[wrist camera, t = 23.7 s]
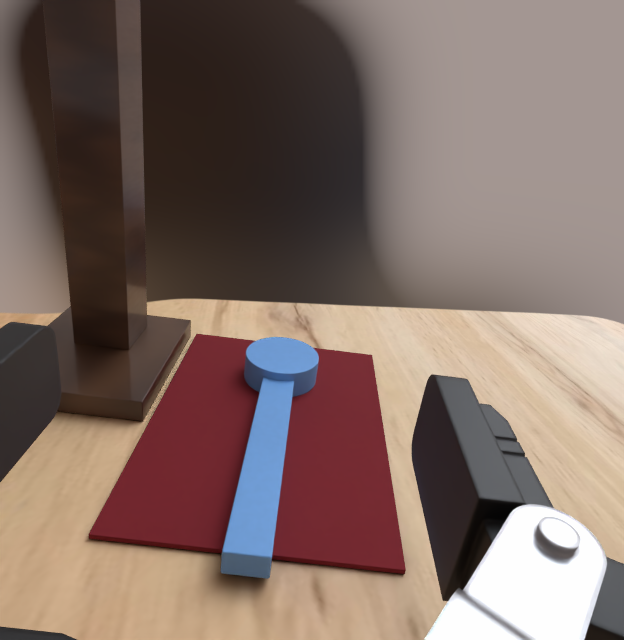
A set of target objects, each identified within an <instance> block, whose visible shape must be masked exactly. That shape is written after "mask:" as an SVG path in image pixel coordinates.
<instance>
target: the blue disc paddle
mask: <svg viewBox="0 0 624 640" xmlns="http://www.w3.org/2000/svg"><path fill="white" fill-rule="evenodd" d="M318 362H319V356H318V353H317V352H316V351H315V349H313V348H312V347H311V346H309V345H308V344H306V343H304V342H301V341H298V340H295V339H291V338H283V337H270V338H264V339H260V340H257V341H255V342H253V343H251V344H250V345H249V346H248V348H247V350H246V357H245V370H244V378H245V380H246V382H247V384H248V385H249V386H250V387H251V388H253V389H254V390H256V391H258V392H259V397H258V401H257V405H256V409H255V414H254V418H253V422H252V426H251V431H250V435H249V439H248V443H247V448H246V452H245V456H244V460H243V464H242V469H241V473H240V477H239V481H238V486H237V490H236V494H235V498H234V503H233V507H232V511H231V515H230V520H229V524H228V528H227V532H226V536H225V541H224V545H223V549H222V558H221V573H223V574H232V575H241V576H249V577H258V578H267V579H268V578H269V577H270V570H271V562H272V554H273V546H274V538H275V530H276V522H277V514H278V507H279V499H280V491H281V483H282V475H283V467H284V459H285V451H286V443H287V435H288V428H289V420H290V412H291V404H292V397H295V396H299V395H302V394H305V393H307V392H308V391H310V390H311V389H312V388H313V387H314V385H315V382H316V376H317V369H318Z"/></svg>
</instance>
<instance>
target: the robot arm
mask: <svg viewBox="0 0 624 640" xmlns="http://www.w3.org/2000/svg"><path fill="white" fill-rule="evenodd" d="M60 400H61V381H60V372H59V363H58V353H57V344H56V336H55V333H54V331H53V329H52V328H51V327H48V326H41V325H33V324H25V323H17V322H10V323H8V324H6V325H5V326H3V327H2V328H1V329H0V482H1V481H2V480H3V478H4V477H5V476H6V475H7V474H8V472H9V471H10V470H11V469H12V468H13V466H14V465H15V464H16V463H17V462H18V460H19V459H20V458H21V457H22V456H23V454H24V453H25V452H26V451H27V449H28V448H29V447H30V446H31V445H32V443H33V442H34V441H35V440H36V439H37V437H38V436H39V435H40V434H41V433H42V431H43V430H44V429H45V428H46V427H47V425H48V424H49V423H50V422H51V420H52V419H53V418H54V416H55V415H56V413H57V410H58V408H59V404H60ZM412 462H413V467H414V472H415V476H416V481H417V485H418V490H419V494H420V499H421V503H422V508H423V512H424V517H425V522H426V526H427V531H428V535H429V540H430V544H431V549H432V553H433V558H434V562H435V567H436V572H437V576H438V581H439V585H440V590H441V594H442V599H443V601H448V603H447V604H446V606H445V607H444V609H443V611H442V612H441V614H440V615H439V617H438V619H437V620H436V622H435V623H434V625H433V626H432V628H431V630H430V631H429V633H428V634H427V636H426V638H425V639H424V640H624V564H623V563H620V562H617V561H615V560H612V559H610V558H608V557H606V555H605V552H604V549H603V548H602V546H601V544H600V542H599V541H598V540H597V538H596V537H595V536H594V535H593V534H592V533H591V532H590V531H589V530H588V529H587V528H586V527H585V526H584V525H583V524H581V523H580V522H578V521H577V520H576V519H574V518H572V517H571V516H569V515H567V514H565V513H563V512H561V511H559V510H556V509H554V508H553V506H552V504H551V502H550V500H549V498H548V496H547V494H546V493H545V491H544V489H543V487H542V485H541V483H540V481H539V479H538V477H537V476H536V474H535V472H534V470H533V468H532V466H531V464H530V462H529V460H528V459H527V457H525V453H524V451H523V449H522V447H521V445H520V443H519V442H517V438H516V436H515V434H514V432H513V430H512V428H511V426H510V425H509V423H508V421H507V420H506V419H505V418H504V417H503V416H502V415H500V414H499V413H498V412H497V411H496V410H495V409H494V408H493V407H492V406H491V405H487V404H479V402H478V400H477V398H476V396H475V393H474V391H473V389H472V387H471V385H470V383H469V381H468V380H467V379H464V378H456V377H448V376H440V375H431V376H430V377H429V379H428V381H427V384H426V387H425V391H424V395H423V399H422V403H421V406H420V410H419V414H418V418H417V422H416V426H415V429H414V434H413V440H412ZM0 640H76V639H74V638H72V637H69V636H67V635H65V634H62V633H53V632H44V631H35V630H26V629H17V628H7V627H0Z"/></svg>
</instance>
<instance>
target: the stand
mask: <svg viewBox="0 0 624 640" xmlns="http://www.w3.org/2000/svg"><path fill="white" fill-rule="evenodd" d="M43 9H44V19H45V31H46V41H47V53H48V63H49V74H50V85H51V96H52V106H53V117H54V129H55V139H56V150H57V161H58V172H59V182H60V193H61V204H62V216H63V227H64V237H65V248H66V259H67V270H68V281H69V291H70V302H71V306H70V307H69V308H68V309H67V310H66V311H65V312H63V313H62V314H61V315H60V316H59V317H57V318H56V319H55V320H54V321H53V322H52V323H50V324H49V325H48V327H51V328H52V329H53V331H54V333H55V336H56V344H57V353H58V363H59V372H60V381H61V400H60V404H59V408H58V410H57V411H61V412H70V413H78V414H87V415H95V416H104V417H112V418H121V419H129V420H138V421H143V420H144V418H145V416H146V414H147V413H148V411H149V409H150V407H151V405H152V404H153V402H154V400H155V398H156V396H157V395H158V393H159V391H160V389H161V388H162V386H163V384H164V382H165V380H166V379H167V377H168V375H169V373H170V371H171V370H172V368H173V366H174V364H175V363H176V361H177V359H178V357H179V355H180V354H181V352H182V350H183V348H184V346H185V345H186V343H187V341H188V339H189V338H190V336H191V320H183V319H175V318H167V317H159V316H151V315H147V300H146V256H145V254H146V253H145V210H144V209H145V208H144V162H143V119H142V118H143V116H142V72H141V71H142V68H141V22H140V0H43Z"/></svg>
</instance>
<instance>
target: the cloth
mask: <svg viewBox="0 0 624 640" xmlns="http://www.w3.org/2000/svg"><path fill="white" fill-rule="evenodd" d="M253 342H255V341H252V340H244V339H236V338H227V337H219V336H211V335H203V334H196V336H195V338H194V340H193V342H192V344H191V345H190V347H189V349H188V351H187V353H186V355H185V357H184V358H183V360H182V362H181V364H180V366H179V368H178V370H177V371H176V373H175V375H174V377H173V379H172V381H171V383H170V384H169V386H168V388H167V390H166V392H165V394H164V396H163V397H162V399H161V401H160V403H159V405H158V407H157V409H156V410H155V412H154V414H153V416H152V418H151V420H150V422H149V423H148V425H147V427H146V429H145V431H144V433H143V435H142V436H141V438H140V440H139V442H138V444H137V446H136V448H135V449H134V451H133V453H132V455H131V457H130V459H129V461H128V462H127V464H126V466H125V468H124V470H123V472H122V473H121V475H120V477H119V479H118V481H117V483H116V485H115V486H114V488H113V490H112V492H111V494H110V496H109V498H108V499H107V501H106V503H105V505H104V507H103V509H102V511H101V512H100V514H99V516H98V518H97V520H96V522H95V524H94V525H93V527H92V529H91V531H90V533H89V539H97V540H106V541H115V542H123V543H132V544H141V545H150V546H159V547H168V548H177V549H186V550H195V551H203V552H212V553H221V554H222V549H223V545H224V541H225V536H226V532H227V528H228V524H229V520H230V515H231V511H232V507H233V503H234V498H235V494H236V490H237V486H238V481H239V477H240V473H241V469H242V464H243V460H244V456H245V452H246V448H247V443H248V439H249V435H250V431H251V426H252V422H253V418H254V414H255V409H256V405H257V401H258V397H259V392H258V391H256V390H254V389H253V388H251V387H250V386H249V385H248V384H247V382H246V380H245V378H244V370H245V357H246V350H247V348H248V346H249V345H250V344H251V343H253ZM313 349H315V351H316V352H317V353H318V356H319V362H318V369H317V376H316V382H315V385H314V387H313V388H312V389H311V390H310V391H308V392H307V393H305V394H302V395H299V396H295V397H292V404H291V412H290V420H289V428H288V435H287V443H286V451H285V459H284V467H283V475H282V483H281V491H280V499H279V507H278V514H277V522H276V530H275V538H274V546H273V554H272V559H274V560H283V561H292V562H301V563H310V564H319V565H328V566H337V567H346V568H354V569H363V570H372V571H381V572H390V573H399V574H405V571H406V569H405V563H404V556H403V550H402V544H401V537H400V531H399V525H398V518H397V512H396V505H395V499H394V493H393V486H392V480H391V473H390V467H389V461H388V454H387V448H386V442H385V435H384V429H383V422H382V416H381V410H380V403H379V397H378V391H377V384H376V378H375V371H374V365H373V359H372V355H367V354H359V353H351V352H342V351H334V350H326V349H318V348H313Z"/></svg>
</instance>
